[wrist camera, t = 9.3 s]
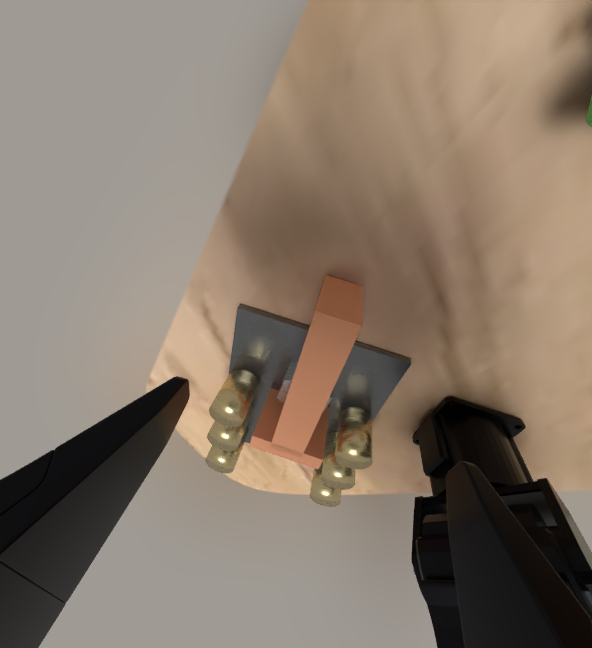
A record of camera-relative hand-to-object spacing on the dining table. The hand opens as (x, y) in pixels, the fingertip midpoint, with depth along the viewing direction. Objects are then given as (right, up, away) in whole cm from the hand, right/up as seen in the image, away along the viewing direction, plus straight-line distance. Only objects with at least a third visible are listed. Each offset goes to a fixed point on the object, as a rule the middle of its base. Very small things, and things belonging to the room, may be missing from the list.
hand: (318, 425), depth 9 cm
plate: (0, -4, +18) cm, 19 cm away
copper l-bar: (+1, +1, +14) cm, 14 cm away
